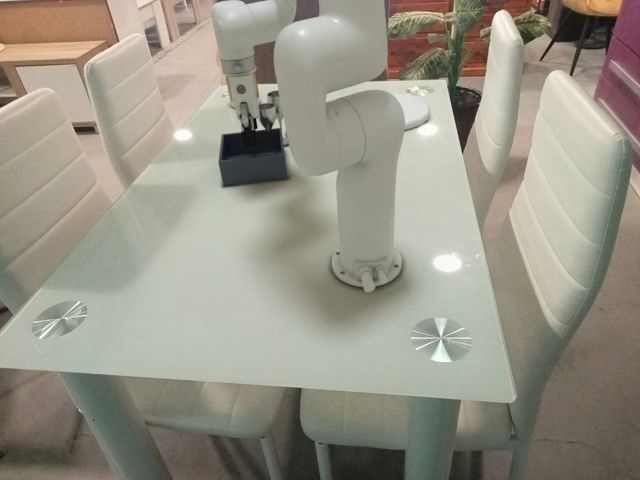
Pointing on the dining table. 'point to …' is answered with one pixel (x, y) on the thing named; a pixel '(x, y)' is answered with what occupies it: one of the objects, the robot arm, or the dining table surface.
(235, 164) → the bin
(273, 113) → the goblet set
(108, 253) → the dining table surface
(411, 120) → the decorative plate
